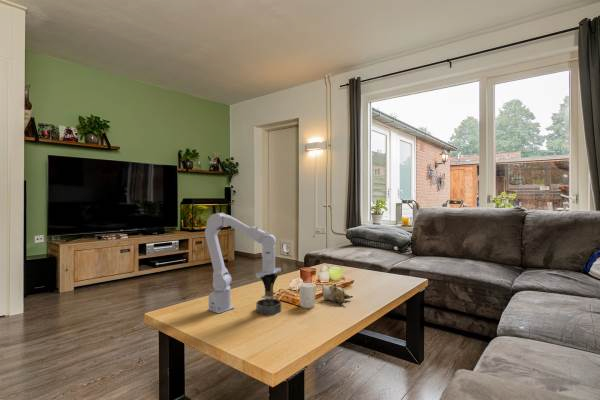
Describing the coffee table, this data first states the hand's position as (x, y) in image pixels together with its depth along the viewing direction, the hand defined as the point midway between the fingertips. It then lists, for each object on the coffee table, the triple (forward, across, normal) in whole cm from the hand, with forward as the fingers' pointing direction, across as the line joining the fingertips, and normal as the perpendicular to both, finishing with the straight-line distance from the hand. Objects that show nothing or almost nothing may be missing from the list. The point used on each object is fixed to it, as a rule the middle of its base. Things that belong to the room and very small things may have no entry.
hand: (268, 290), depth 151 cm
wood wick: (+3, 0, 0) cm, 3 cm away
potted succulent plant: (+9, +30, -17) cm, 36 cm away
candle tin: (+9, 0, 0) cm, 9 cm away
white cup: (+9, +16, -10) cm, 21 cm away
